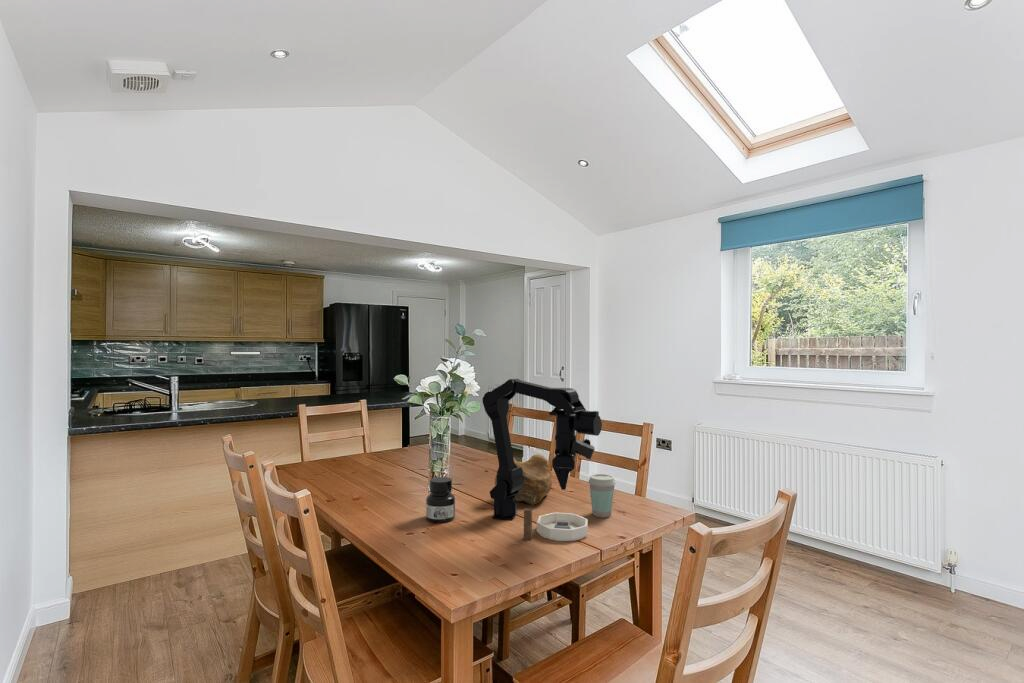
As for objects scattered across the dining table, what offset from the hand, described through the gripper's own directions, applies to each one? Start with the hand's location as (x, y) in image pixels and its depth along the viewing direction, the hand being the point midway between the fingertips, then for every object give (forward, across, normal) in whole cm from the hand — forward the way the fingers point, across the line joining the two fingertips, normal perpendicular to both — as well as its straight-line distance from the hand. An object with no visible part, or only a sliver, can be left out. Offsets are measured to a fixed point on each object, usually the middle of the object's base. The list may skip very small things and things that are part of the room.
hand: (564, 485), depth 149 cm
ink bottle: (+14, +4, +38) cm, 41 cm away
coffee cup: (+13, +16, -12) cm, 23 cm away
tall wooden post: (+13, -9, +9) cm, 18 cm away
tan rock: (+14, +28, +13) cm, 33 cm away
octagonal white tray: (+13, -2, 0) cm, 13 cm away
